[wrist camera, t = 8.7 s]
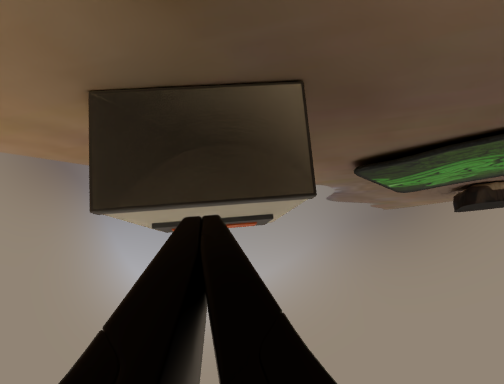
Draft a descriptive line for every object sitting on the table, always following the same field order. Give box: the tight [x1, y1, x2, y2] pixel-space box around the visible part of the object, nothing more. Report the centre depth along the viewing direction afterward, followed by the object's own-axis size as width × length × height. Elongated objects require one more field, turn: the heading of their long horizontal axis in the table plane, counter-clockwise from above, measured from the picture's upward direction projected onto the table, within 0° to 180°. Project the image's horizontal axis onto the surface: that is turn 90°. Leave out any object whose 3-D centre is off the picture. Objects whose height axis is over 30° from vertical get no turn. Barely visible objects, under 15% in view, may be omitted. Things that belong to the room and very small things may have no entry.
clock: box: [89, 81, 317, 233], centre depth 21 cm, size 5×9×14 cm
